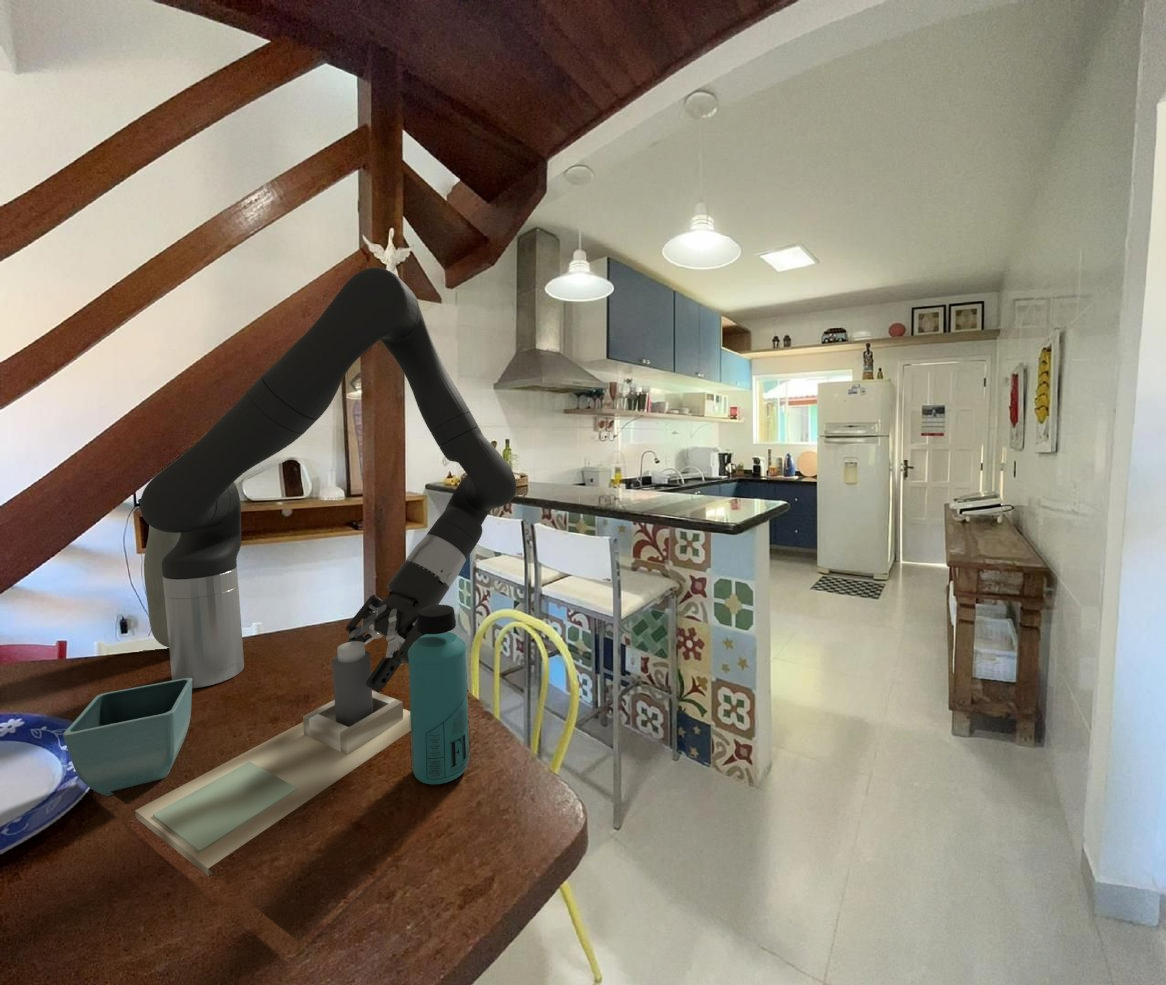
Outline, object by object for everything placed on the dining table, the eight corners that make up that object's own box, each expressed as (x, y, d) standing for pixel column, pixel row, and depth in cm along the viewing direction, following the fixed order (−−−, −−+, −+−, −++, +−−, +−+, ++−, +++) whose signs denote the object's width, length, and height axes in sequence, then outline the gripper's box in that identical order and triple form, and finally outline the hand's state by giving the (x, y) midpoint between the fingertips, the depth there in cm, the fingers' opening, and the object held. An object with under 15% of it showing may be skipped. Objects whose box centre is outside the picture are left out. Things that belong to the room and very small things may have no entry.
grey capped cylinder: (328, 730, 62) (324, 649, 61) (358, 713, 66) (354, 636, 65) (351, 740, 60) (347, 656, 59) (380, 722, 64) (377, 643, 63)
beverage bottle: (455, 803, 51) (451, 622, 49) (398, 793, 53) (392, 616, 50) (480, 763, 58) (477, 601, 55) (429, 755, 59) (424, 596, 57)
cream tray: (135, 817, 49) (132, 787, 49) (359, 697, 72) (358, 676, 71) (208, 876, 42) (205, 842, 42) (428, 723, 65) (428, 700, 65)
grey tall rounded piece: (146, 646, 88) (132, 494, 85) (215, 630, 96) (204, 490, 93) (157, 663, 82) (141, 499, 79) (229, 644, 90) (218, 494, 86)
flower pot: (69, 817, 49) (59, 734, 48) (105, 765, 57) (97, 693, 56) (179, 789, 53) (172, 712, 52) (199, 744, 61) (193, 676, 60)
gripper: (384, 551, 72) (307, 651, 65) (442, 567, 64) (362, 684, 56) (416, 578, 77) (348, 673, 69) (474, 596, 69) (405, 707, 61)
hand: (354, 678), depth 63 cm, fingers open, 8 cm apart
